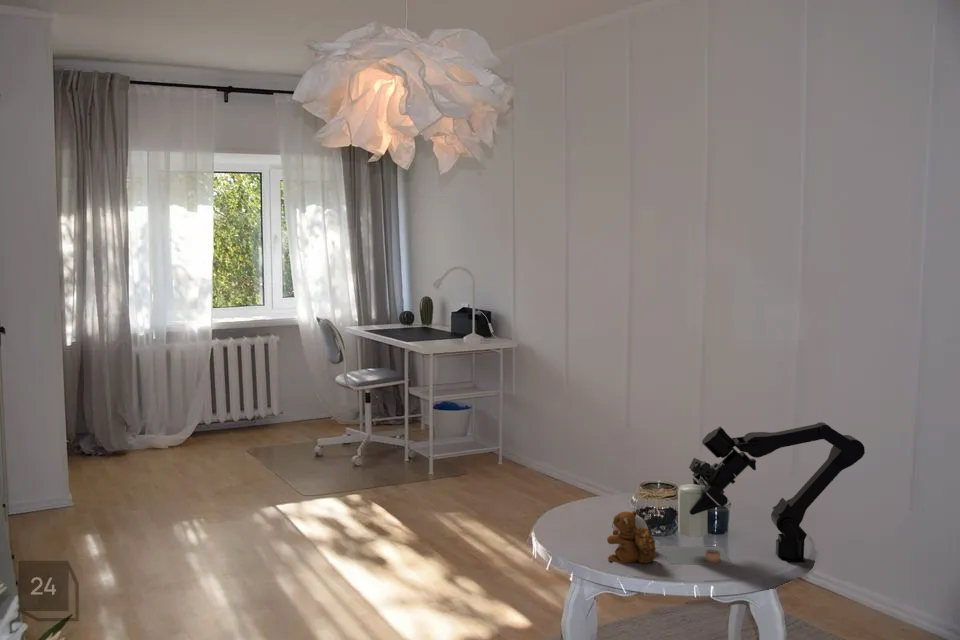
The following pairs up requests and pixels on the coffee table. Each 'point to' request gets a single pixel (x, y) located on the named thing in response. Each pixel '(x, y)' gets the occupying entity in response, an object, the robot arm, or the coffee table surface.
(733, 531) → the coffee table surface
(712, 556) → the pinch bowl
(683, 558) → the slate mat
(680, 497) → the pale green faceted cylinder
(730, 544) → the coffee table surface
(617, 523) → the stuffed squirrel
